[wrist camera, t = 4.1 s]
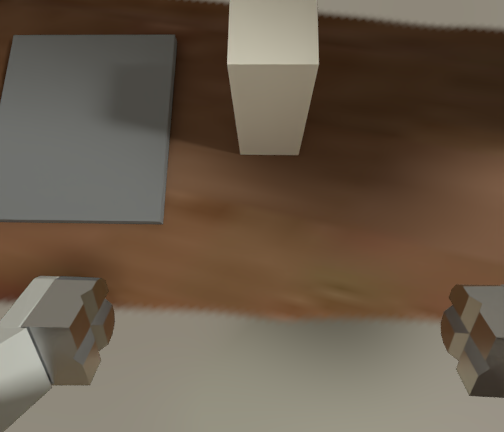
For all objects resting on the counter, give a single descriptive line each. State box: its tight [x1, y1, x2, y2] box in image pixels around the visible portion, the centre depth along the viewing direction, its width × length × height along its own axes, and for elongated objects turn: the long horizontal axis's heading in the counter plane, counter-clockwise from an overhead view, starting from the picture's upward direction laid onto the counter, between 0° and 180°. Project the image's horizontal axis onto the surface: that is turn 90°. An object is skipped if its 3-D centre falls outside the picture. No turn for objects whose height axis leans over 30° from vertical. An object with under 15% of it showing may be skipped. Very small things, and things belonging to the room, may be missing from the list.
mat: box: [0, 35, 177, 224], centre depth 27 cm, size 12×14×1 cm
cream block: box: [227, 0, 319, 155], centre depth 22 cm, size 4×4×10 cm
